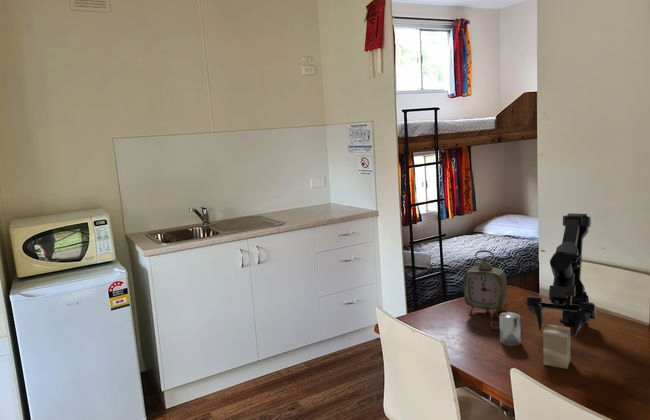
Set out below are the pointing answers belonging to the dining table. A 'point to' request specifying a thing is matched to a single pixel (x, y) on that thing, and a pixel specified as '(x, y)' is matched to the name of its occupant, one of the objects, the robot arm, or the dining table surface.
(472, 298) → the tabletop clock
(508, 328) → the grey tin
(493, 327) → the pottery mug
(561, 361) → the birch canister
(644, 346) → the dining table surface
